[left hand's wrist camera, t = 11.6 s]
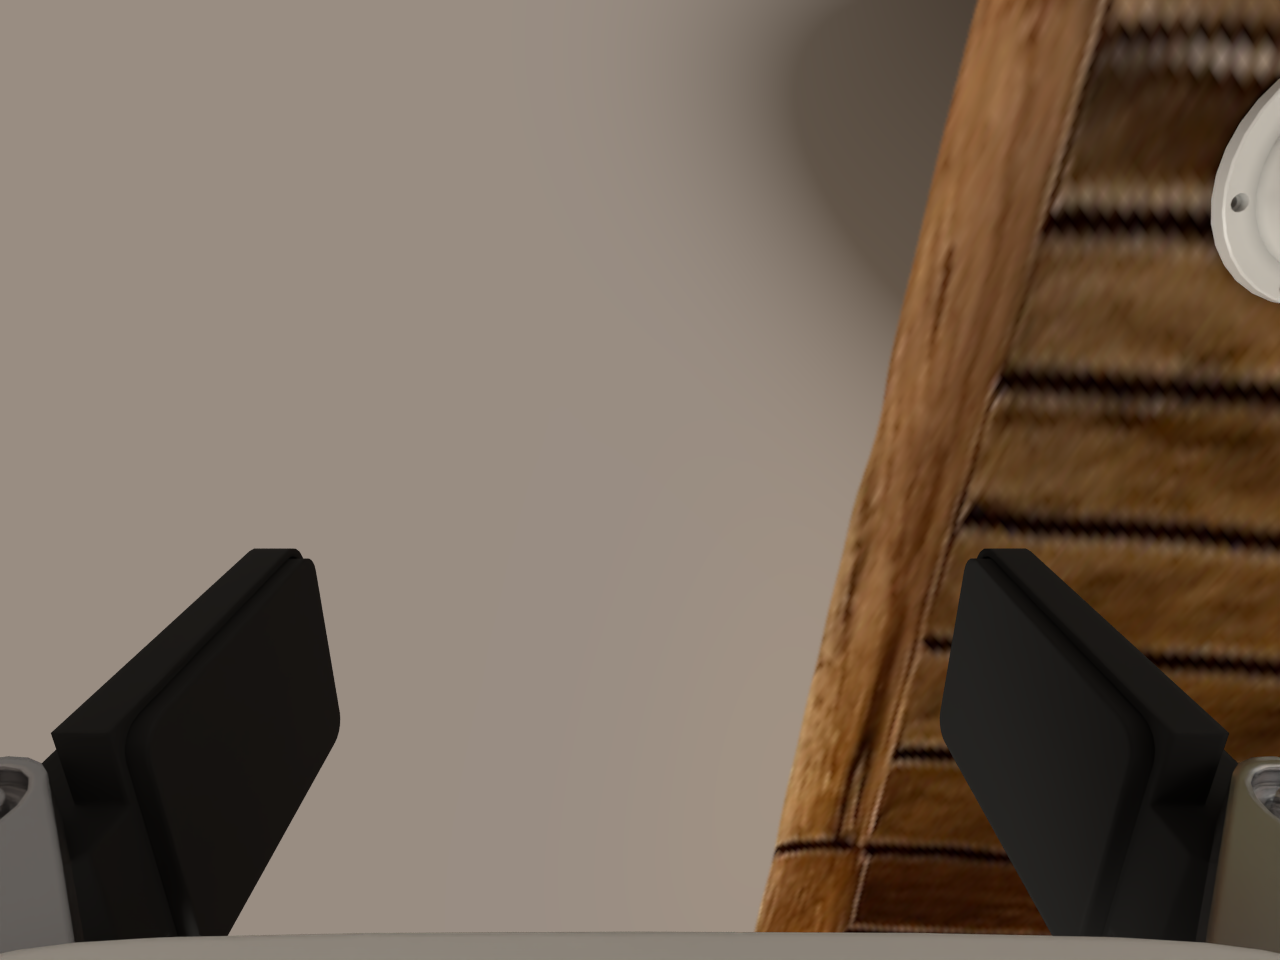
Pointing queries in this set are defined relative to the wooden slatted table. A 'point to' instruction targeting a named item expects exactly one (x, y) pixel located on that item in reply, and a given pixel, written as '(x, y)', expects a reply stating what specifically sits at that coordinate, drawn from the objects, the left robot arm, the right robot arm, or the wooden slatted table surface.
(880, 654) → the wooden slatted table surface
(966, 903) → the wooden slatted table surface
